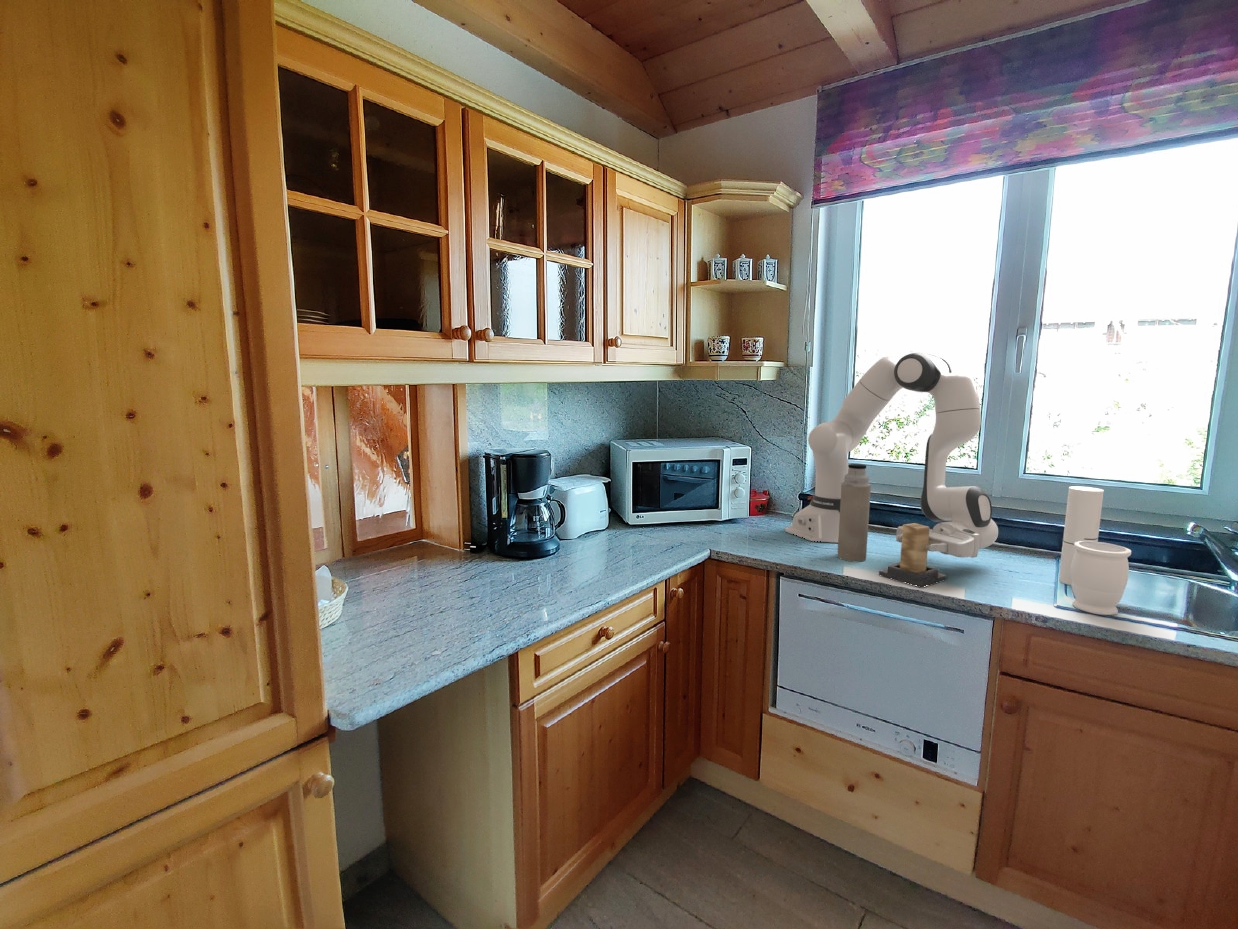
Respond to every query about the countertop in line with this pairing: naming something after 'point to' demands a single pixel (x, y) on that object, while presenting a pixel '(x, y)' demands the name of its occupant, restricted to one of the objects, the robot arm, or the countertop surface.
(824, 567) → the countertop surface
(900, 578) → the dark rectangular socket base
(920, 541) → the oak wick peg
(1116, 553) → the jar
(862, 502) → the thermos bottle
